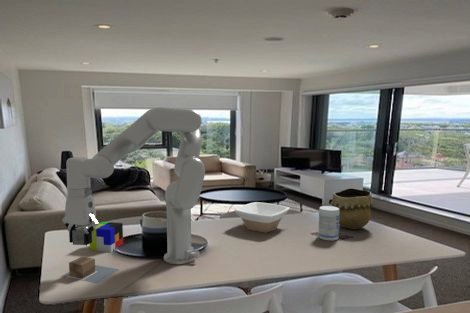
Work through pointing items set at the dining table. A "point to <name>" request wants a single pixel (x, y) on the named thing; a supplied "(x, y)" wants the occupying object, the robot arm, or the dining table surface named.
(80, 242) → the grey cube
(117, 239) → the puzzle toy
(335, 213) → the supplement tub
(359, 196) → the clay pot
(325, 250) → the dining table surface
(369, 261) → the dining table surface
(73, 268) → the walnut block
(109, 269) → the board
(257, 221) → the bowl
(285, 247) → the dining table surface
